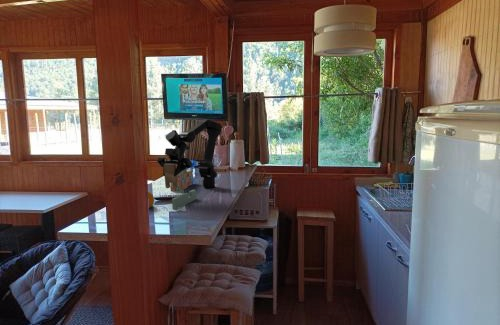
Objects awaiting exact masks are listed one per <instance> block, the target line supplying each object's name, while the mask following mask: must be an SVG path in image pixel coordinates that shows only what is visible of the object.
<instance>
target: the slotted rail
mask: <svg viewBox="0 0 500 325" xmlns="http://www.w3.org/2000/svg"><path fill="white" fill-rule="evenodd" d="M195 200H197V191H196V189H192V190H190V191H189V190H188V192H185V193H182V194H180V195H177V196H176V197H173V198H172V199H171V207H172V210H177V209H180V208H181V207H183V206H185V205H187V204H190V203H192V202H194V201H195Z"/></svg>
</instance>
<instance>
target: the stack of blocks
mask: <svg viewBox="0 0 500 325" xmlns="http://www.w3.org/2000/svg"><path fill="white" fill-rule="evenodd" d="M186 168H187V167H186ZM193 177H194V174H193V169H188V168H187V169H184V170H183V171H181V172H180V173H179V174H178V175H177V186H178V188H176V189H173V183H170V188H169V189H170V192H182V191H184V190H185V189H187V188H189V187H190V186H191V185H193V184H194V178H193Z"/></svg>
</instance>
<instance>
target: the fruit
mask: <svg viewBox="0 0 500 325" xmlns="http://www.w3.org/2000/svg"><path fill="white" fill-rule="evenodd" d="M147 191H148V199H149V208H148V209H150V208H151V207H152V206H153V205H154V204H155V197H154V195H153V193H152V192H150V191H149V190H147Z"/></svg>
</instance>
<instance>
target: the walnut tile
mask: <svg viewBox="0 0 500 325" xmlns="http://www.w3.org/2000/svg"><path fill="white" fill-rule="evenodd" d="M176 168H177V164H164V174H165V176H164V185H165V189H171V188H170V183H173V189H176V188H178V186H177V175H176V176H175V177H174V172H175V170H176Z"/></svg>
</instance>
